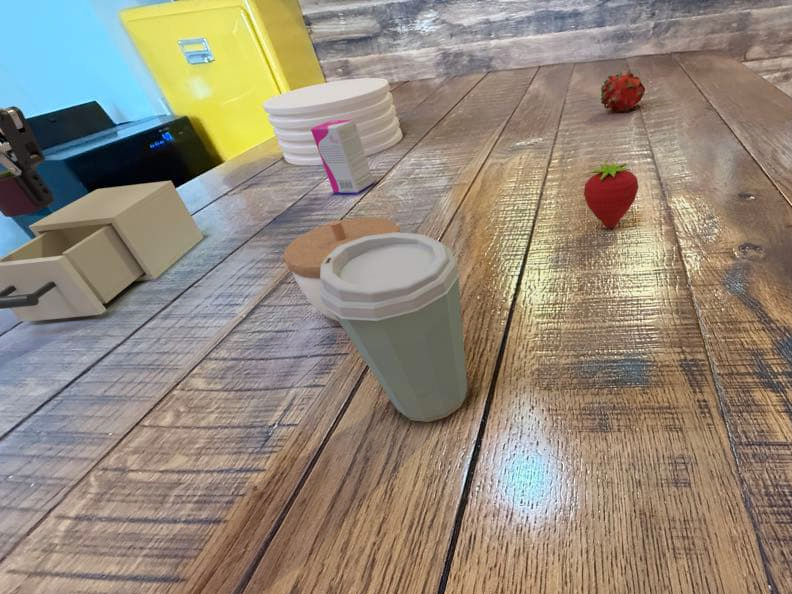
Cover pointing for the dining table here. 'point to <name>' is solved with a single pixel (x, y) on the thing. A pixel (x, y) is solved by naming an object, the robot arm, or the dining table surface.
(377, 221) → the lidded bowl
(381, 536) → the dining table surface
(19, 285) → the drawer
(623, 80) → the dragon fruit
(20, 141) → the robot arm
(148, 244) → the cabinet
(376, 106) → the plate stack
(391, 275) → the disposable coffee cup
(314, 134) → the supplement box
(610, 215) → the strawberry
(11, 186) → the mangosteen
